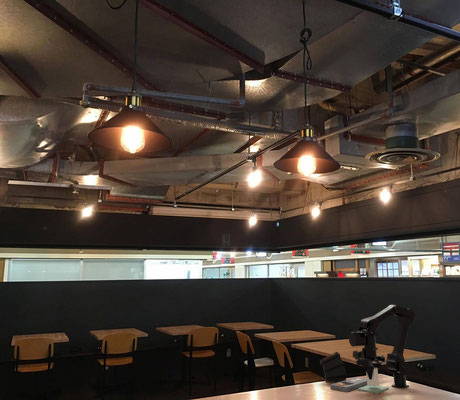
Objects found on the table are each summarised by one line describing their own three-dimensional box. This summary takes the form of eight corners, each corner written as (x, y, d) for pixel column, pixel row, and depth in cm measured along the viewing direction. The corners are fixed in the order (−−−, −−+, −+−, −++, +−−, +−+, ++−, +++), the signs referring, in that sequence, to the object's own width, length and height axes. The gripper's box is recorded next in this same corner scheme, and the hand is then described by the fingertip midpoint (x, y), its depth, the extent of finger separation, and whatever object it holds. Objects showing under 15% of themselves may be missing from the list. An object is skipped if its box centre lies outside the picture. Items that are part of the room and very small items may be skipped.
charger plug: (371, 384, 212) (369, 367, 213) (378, 385, 209) (377, 367, 211) (367, 385, 209) (365, 368, 210) (375, 386, 206) (373, 369, 208)
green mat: (369, 386, 216) (369, 384, 216) (388, 389, 209) (388, 387, 209) (357, 390, 208) (357, 388, 208) (377, 393, 201) (377, 391, 201)
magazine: (352, 378, 227) (338, 352, 230) (330, 390, 226) (317, 363, 229) (350, 377, 231) (337, 351, 234) (329, 388, 230) (316, 362, 233)
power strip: (358, 380, 231) (358, 375, 231) (374, 382, 225) (373, 377, 225) (330, 389, 211) (330, 383, 212) (347, 391, 205) (346, 385, 206)
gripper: (363, 342, 225) (366, 374, 222) (345, 346, 212) (348, 379, 208) (384, 344, 217) (387, 376, 214) (366, 347, 204) (369, 382, 201)
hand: (372, 378), depth 209 cm, fingers closed on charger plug, 4 cm apart
